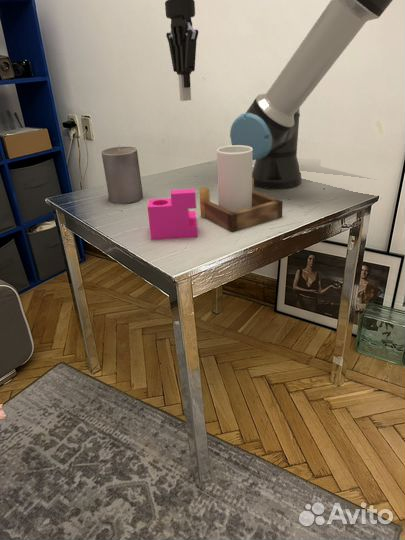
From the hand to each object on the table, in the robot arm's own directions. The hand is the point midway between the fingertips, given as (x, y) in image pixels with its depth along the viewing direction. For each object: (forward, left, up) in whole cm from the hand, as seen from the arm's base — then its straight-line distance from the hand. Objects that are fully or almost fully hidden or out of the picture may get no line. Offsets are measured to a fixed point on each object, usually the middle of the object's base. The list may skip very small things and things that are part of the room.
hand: (185, 100), depth 112 cm
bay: (+4, +31, -24) cm, 40 cm away
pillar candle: (+21, -1, -25) cm, 32 cm away
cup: (+4, +29, -25) cm, 38 cm away
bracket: (+20, +27, -25) cm, 42 cm away
